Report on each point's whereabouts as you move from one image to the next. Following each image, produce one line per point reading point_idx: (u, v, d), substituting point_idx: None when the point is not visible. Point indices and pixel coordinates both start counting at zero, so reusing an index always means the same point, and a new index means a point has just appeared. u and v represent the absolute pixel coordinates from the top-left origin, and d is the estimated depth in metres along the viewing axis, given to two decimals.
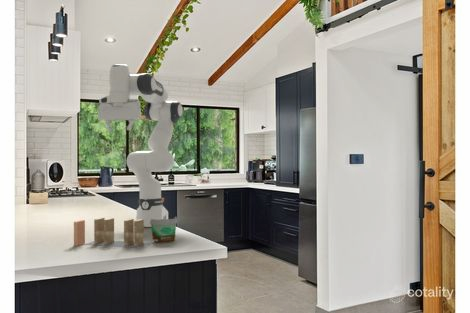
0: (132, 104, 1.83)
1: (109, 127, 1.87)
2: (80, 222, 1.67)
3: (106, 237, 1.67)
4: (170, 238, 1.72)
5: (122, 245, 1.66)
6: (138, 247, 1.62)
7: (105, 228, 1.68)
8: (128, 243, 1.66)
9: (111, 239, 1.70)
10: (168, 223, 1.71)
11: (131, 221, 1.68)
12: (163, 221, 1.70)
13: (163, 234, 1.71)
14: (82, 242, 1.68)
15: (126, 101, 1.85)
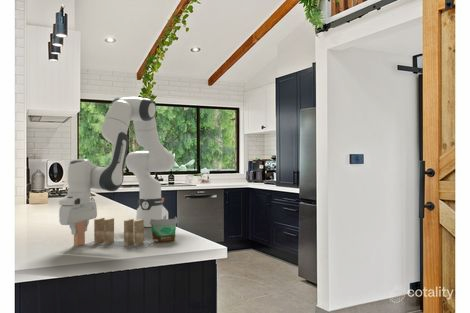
0: (93, 203, 1.74)
1: (76, 231, 1.64)
2: (80, 222, 1.67)
3: (106, 237, 1.67)
4: (170, 238, 1.72)
5: (122, 245, 1.66)
6: (138, 247, 1.62)
7: (105, 228, 1.68)
8: (128, 243, 1.66)
9: (111, 239, 1.70)
10: (168, 223, 1.71)
11: (131, 221, 1.68)
12: (163, 221, 1.70)
13: (163, 234, 1.71)
14: (82, 242, 1.68)
15: None
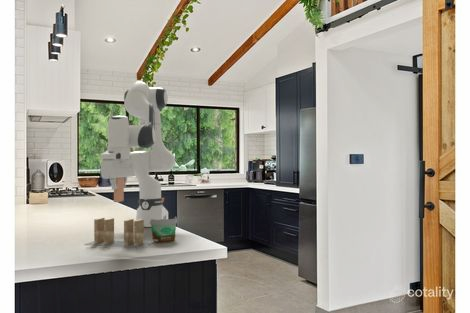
0: (131, 160, 1.75)
1: (116, 186, 1.66)
2: (120, 178, 1.68)
3: (106, 237, 1.67)
4: (170, 238, 1.72)
5: (122, 245, 1.66)
6: (138, 247, 1.62)
7: (105, 228, 1.68)
8: (128, 243, 1.66)
9: (111, 239, 1.70)
10: (168, 223, 1.71)
11: (131, 221, 1.68)
12: (163, 221, 1.70)
13: (163, 234, 1.71)
14: (121, 198, 1.69)
15: None
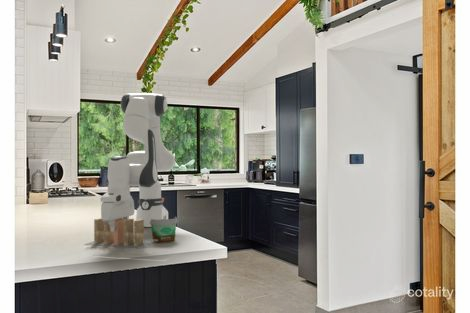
0: (131, 199, 1.75)
1: (115, 228, 1.64)
2: (120, 220, 1.68)
3: (106, 237, 1.67)
4: (170, 238, 1.72)
5: (122, 245, 1.66)
6: (138, 247, 1.62)
7: (105, 228, 1.68)
8: (128, 243, 1.66)
9: (111, 239, 1.70)
10: (168, 223, 1.71)
11: (131, 221, 1.68)
12: (163, 221, 1.70)
13: (163, 234, 1.71)
14: (121, 240, 1.70)
15: None
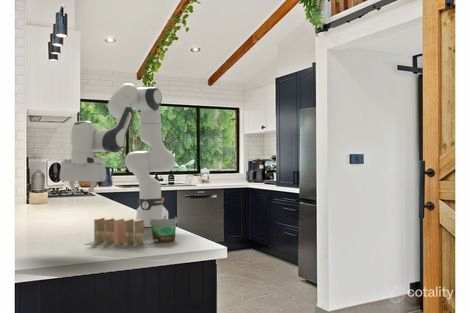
0: None
1: None
2: (120, 220, 1.68)
3: (106, 237, 1.67)
4: (170, 238, 1.72)
5: (122, 245, 1.66)
6: (138, 247, 1.62)
7: (105, 228, 1.68)
8: (128, 243, 1.66)
9: (111, 239, 1.70)
10: (168, 223, 1.71)
11: (131, 221, 1.68)
12: (163, 221, 1.70)
13: (163, 234, 1.71)
14: (121, 240, 1.70)
15: None
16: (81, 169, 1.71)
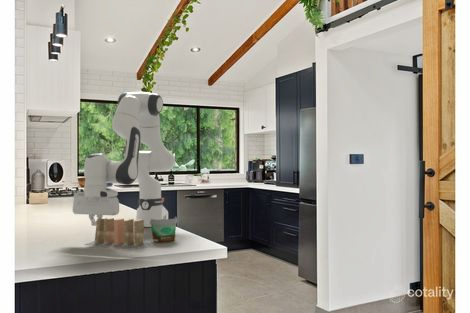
0: None
1: None
2: (120, 220, 1.68)
3: (106, 237, 1.67)
4: (170, 238, 1.72)
5: (122, 245, 1.66)
6: (138, 247, 1.62)
7: (105, 228, 1.68)
8: (128, 243, 1.66)
9: (111, 239, 1.70)
10: (168, 223, 1.71)
11: (131, 221, 1.68)
12: (163, 221, 1.70)
13: (163, 234, 1.71)
14: (121, 240, 1.70)
15: None
16: (94, 202, 1.70)
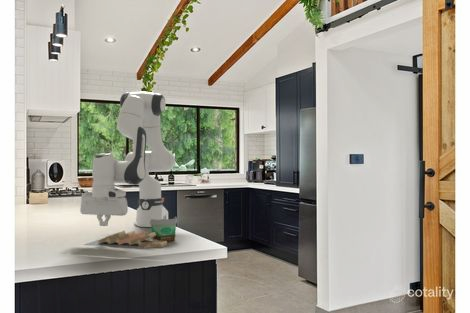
0: None
1: None
2: (141, 236, 1.66)
3: (114, 241, 1.67)
4: (170, 238, 1.72)
5: (122, 245, 1.66)
6: (138, 247, 1.62)
7: (121, 237, 1.66)
8: (131, 244, 1.65)
9: None
10: (168, 223, 1.71)
11: None
12: (163, 221, 1.70)
13: (163, 234, 1.71)
14: None
15: None
16: (102, 203, 1.69)
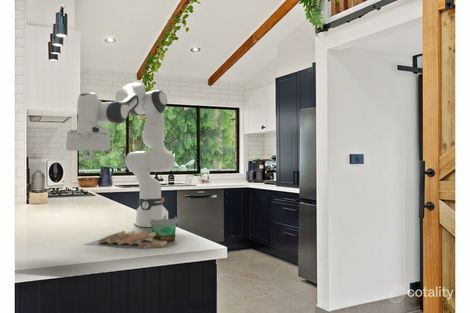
0: None
1: None
2: (141, 236, 1.66)
3: (114, 241, 1.67)
4: (170, 238, 1.72)
5: (122, 245, 1.66)
6: (138, 247, 1.62)
7: (121, 237, 1.66)
8: (131, 244, 1.65)
9: None
10: (168, 223, 1.71)
11: None
12: (163, 221, 1.70)
13: (163, 234, 1.71)
14: None
15: None
16: (87, 139, 1.79)
